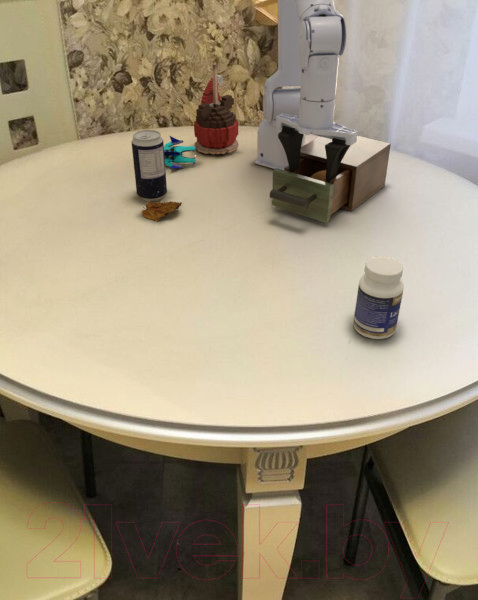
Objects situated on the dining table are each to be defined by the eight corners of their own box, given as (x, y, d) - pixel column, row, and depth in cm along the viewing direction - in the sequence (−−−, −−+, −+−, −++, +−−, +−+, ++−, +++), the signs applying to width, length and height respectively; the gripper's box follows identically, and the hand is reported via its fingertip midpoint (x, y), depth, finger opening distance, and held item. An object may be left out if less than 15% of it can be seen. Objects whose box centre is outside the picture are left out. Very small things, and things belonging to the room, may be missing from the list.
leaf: (158, 202, 115) (155, 194, 114) (188, 206, 112) (186, 198, 111) (137, 219, 111) (135, 211, 110) (168, 224, 107) (166, 216, 106)
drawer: (314, 232, 103) (317, 195, 99) (258, 214, 109) (259, 178, 105) (360, 197, 114) (365, 162, 110) (307, 182, 120) (310, 148, 116)
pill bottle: (395, 343, 81) (407, 279, 75) (351, 338, 81) (360, 274, 76) (395, 317, 85) (407, 255, 79) (354, 312, 86) (362, 251, 80)
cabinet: (351, 211, 111) (356, 166, 106) (292, 193, 117) (294, 150, 112) (384, 186, 120) (391, 143, 115) (328, 170, 126) (331, 129, 121)
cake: (217, 161, 130) (215, 73, 120) (184, 151, 135) (179, 66, 125) (248, 146, 137) (248, 62, 127) (216, 137, 142) (214, 55, 132)
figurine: (197, 139, 129) (140, 140, 130) (193, 135, 123) (134, 135, 124) (197, 171, 129) (141, 172, 130) (193, 168, 124) (134, 168, 124)
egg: (301, 178, 108) (323, 159, 110) (301, 195, 112) (322, 177, 114) (320, 190, 106) (342, 170, 108) (320, 207, 110) (341, 188, 112)
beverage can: (172, 192, 118) (168, 131, 111) (159, 204, 114) (154, 142, 107) (145, 188, 119) (139, 127, 113) (131, 200, 115) (125, 138, 108)
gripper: (266, 94, 101) (264, 172, 109) (345, 111, 94) (337, 193, 101) (290, 84, 105) (286, 160, 113) (366, 100, 98) (357, 179, 106)
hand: (312, 175), depth 108 cm, fingers closed on drawer, 7 cm apart
